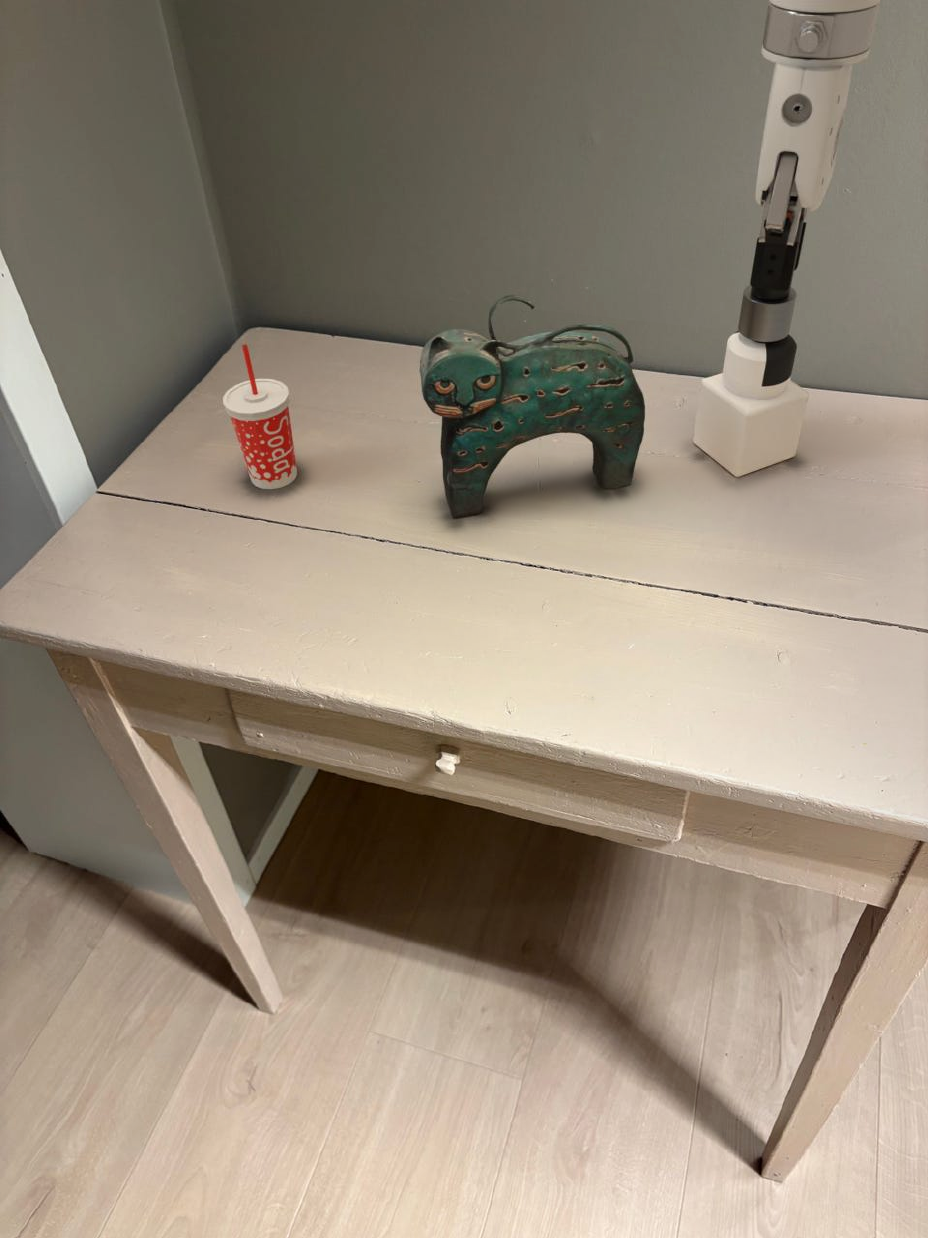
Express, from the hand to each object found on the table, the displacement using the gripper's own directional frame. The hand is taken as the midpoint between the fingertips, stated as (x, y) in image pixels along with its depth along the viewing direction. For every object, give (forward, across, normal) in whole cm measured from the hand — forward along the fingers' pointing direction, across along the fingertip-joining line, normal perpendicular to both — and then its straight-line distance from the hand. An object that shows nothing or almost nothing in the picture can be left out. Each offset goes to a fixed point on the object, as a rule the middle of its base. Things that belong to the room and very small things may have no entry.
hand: (774, 275), depth 81 cm
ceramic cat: (+18, -13, +17) cm, 28 cm away
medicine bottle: (+18, 0, 0) cm, 18 cm away
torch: (+5, 0, 0) cm, 5 cm away
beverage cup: (+18, -19, +42) cm, 49 cm away
